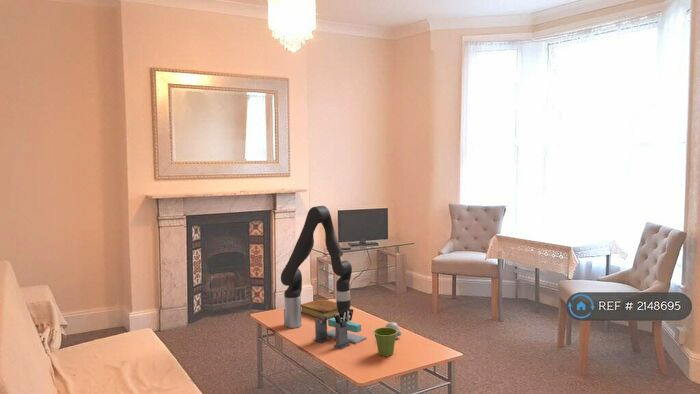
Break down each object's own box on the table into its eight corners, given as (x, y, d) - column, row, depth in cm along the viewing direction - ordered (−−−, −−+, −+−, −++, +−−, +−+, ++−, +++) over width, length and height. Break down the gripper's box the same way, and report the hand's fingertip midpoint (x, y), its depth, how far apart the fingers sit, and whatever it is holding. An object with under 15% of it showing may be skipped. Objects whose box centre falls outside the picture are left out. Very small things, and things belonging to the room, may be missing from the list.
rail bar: (328, 325, 297) (328, 319, 296) (332, 324, 299) (332, 317, 299) (356, 332, 284) (356, 326, 284) (361, 330, 287) (360, 324, 286)
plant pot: (369, 352, 269) (368, 330, 268) (389, 347, 275) (388, 325, 274) (382, 360, 259) (381, 337, 258) (402, 355, 264) (402, 332, 264)
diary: (347, 314, 334) (347, 305, 333) (324, 321, 321) (324, 312, 321) (323, 307, 351) (322, 298, 350) (300, 313, 338) (299, 304, 337)
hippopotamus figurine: (379, 344, 287) (374, 331, 285) (394, 331, 294) (389, 318, 291) (388, 347, 282) (383, 334, 279) (404, 334, 288) (399, 320, 286)
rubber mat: (322, 335, 296) (322, 333, 296) (333, 330, 303) (333, 329, 303) (355, 343, 281) (355, 342, 281) (366, 338, 288) (366, 337, 288)
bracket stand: (313, 341, 286) (312, 318, 285) (322, 337, 291) (321, 314, 290) (341, 349, 274) (340, 325, 273) (349, 345, 279) (349, 321, 278)
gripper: (346, 294, 298) (347, 325, 300) (329, 300, 287) (330, 332, 289) (357, 296, 293) (358, 328, 295) (340, 302, 282) (341, 335, 284)
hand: (344, 330), depth 292 cm, fingers closed on rail bar, 3 cm apart
